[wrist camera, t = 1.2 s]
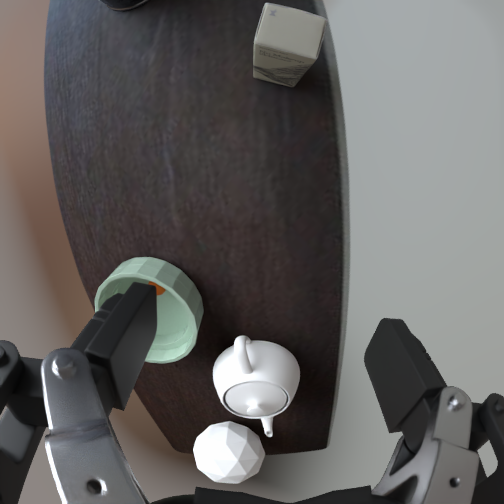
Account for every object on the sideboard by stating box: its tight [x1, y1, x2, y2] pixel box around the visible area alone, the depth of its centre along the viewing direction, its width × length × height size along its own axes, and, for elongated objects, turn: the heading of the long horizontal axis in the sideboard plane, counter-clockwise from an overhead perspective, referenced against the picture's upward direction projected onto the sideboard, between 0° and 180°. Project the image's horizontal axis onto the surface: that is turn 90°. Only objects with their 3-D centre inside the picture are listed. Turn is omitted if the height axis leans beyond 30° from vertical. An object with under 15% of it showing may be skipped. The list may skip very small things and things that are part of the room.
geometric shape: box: [193, 421, 265, 483], centre depth 46 cm, size 14×15×15 cm
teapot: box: [213, 336, 300, 437], centre depth 39 cm, size 22×14×11 cm, turn 13°
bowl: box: [95, 257, 204, 363], centre depth 37 cm, size 15×15×6 cm
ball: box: [148, 281, 166, 295], centre depth 37 cm, size 3×3×3 cm
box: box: [253, 3, 327, 87], centre depth 21 cm, size 5×4×13 cm
